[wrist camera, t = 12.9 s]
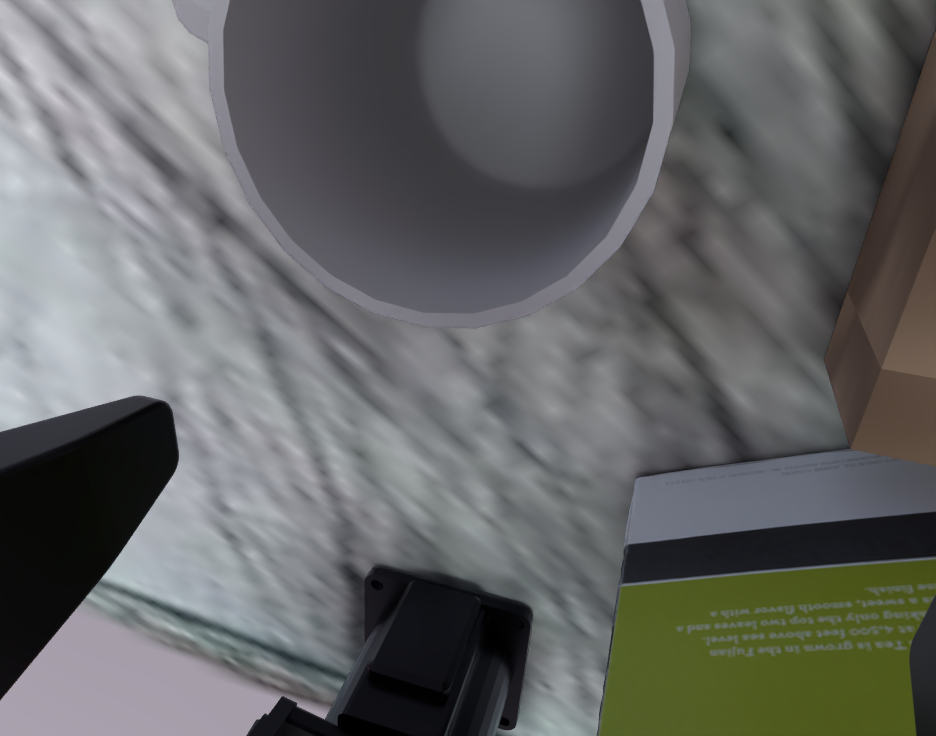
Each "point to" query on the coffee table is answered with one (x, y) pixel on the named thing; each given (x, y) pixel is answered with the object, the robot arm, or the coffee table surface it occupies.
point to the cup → (446, 140)
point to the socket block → (894, 302)
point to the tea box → (772, 599)
